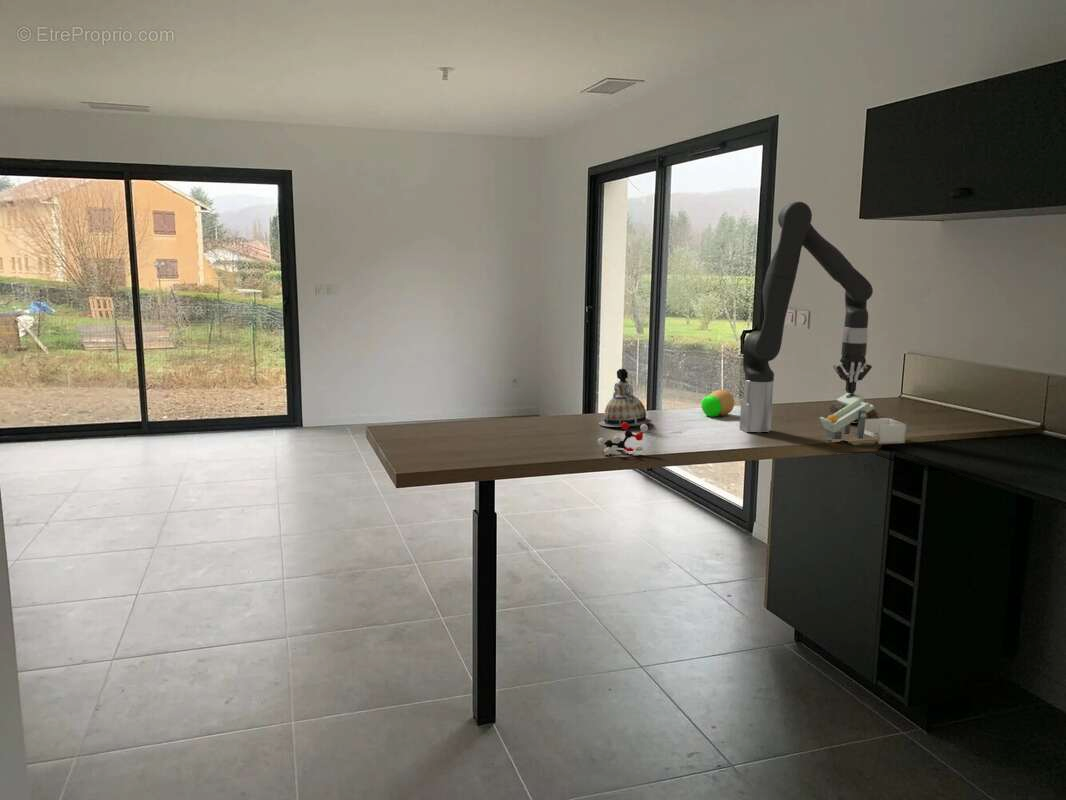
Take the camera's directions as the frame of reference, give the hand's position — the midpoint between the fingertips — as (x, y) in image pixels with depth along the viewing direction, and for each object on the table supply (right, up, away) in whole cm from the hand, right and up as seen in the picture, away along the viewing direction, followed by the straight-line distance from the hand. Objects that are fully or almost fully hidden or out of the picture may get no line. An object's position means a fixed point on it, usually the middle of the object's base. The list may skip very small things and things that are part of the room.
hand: (850, 392), depth 261 cm
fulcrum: (-5, -15, -9) cm, 19 cm away
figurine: (-73, -11, +11) cm, 75 cm away
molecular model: (-78, -18, -26) cm, 84 cm away
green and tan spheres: (-38, -8, +27) cm, 48 cm away
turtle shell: (+9, -10, +20) cm, 24 cm away
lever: (-5, -7, -5) cm, 10 cm away
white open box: (+7, -15, -8) cm, 19 cm away
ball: (-10, -9, -11) cm, 18 cm away
